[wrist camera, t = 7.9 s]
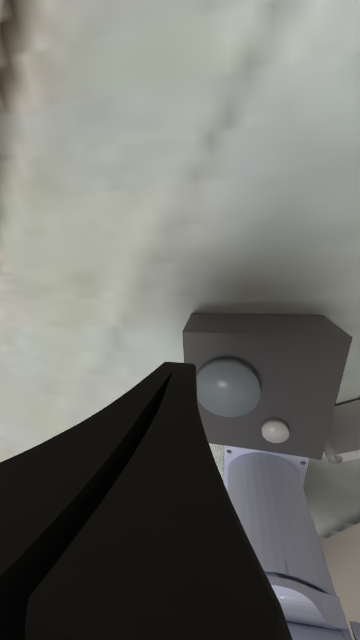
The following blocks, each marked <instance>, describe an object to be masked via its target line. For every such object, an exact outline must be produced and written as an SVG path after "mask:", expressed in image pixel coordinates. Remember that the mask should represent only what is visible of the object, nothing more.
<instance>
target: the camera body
mask: <svg viewBox="0 0 360 640" xmlns="http://www.w3.org/2000/svg"><path fill="white" fill-rule="evenodd" d="M351 340H352V337H351V336H350V335H348V334H347V333H346V332H344V331H343V330H342V329H340V328H339V327H338V326H336V325H335V324H334V323H332V322H331V321H330V320H329V319H327V318H326V317H325V316H323V315H284V314H205V313H192V314H191V316H190V318H189V320H188V322H187V324H186V326H185V328H184V330H183V348H184V363H191V364H194V365H195V366H196V379H197V404H198V409H199V413H200V417H201V421H202V424H203V428H204V431H205V434H206V437H207V440H208V443H212V444H219V445H226V446H232V447H239V448H246V449H253V450H259V451H266V452H273V453H280V454H286V455H293V456H300V457H307V458H313V459H320V460H321V459H322V455H323V451H324V447H325V443H326V439H327V435H328V431H329V427H330V423H331V419H332V415H333V411H334V407H335V403H336V399H337V395H338V392H339V388H340V384H341V380H342V376H343V372H344V368H345V364H346V360H347V356H348V352H349V348H350V344H351Z"/></svg>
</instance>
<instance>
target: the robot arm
mask: <svg viewBox="0 0 360 640" xmlns="http://www.w3.org/2000/svg"><path fill="white" fill-rule="evenodd" d="M308 464H309V458H307V457H300V456H293V455H286V454H280V453H273V452H266V451H259V450H253V449H246V448H239V447H232V446H226V445H224V481H223V480H222V478H221V475H220V473H219V470H218V468H217V465H216V463H215V460H214V457H213V455H212V452H211V449H210V446H209V443H208V440H207V437H206V434H205V431H204V428H203V424H202V421H201V417H200V413H199V409H198V404H197V379H196V366H195V365H194V364H191V363H176V362H164V363H163V364H162V365H161V366H159V367H158V368H157V369H156V370H155V371H153V372H152V373H151V374H150V375H148V376H147V377H146V378H145V379H143V380H142V381H141V382H140V383H138V384H137V385H136V386H135V387H133V388H132V389H131V390H129V391H128V392H127V393H125V394H124V395H122V396H121V397H120V398H118V399H117V400H115V401H114V402H113V403H111V404H110V405H108V406H107V407H105V408H104V409H102V410H101V411H99V412H98V413H96V414H94V415H93V416H91V417H89V418H88V419H86V420H84V421H83V422H81V423H79V424H77V425H76V426H74V427H72V428H70V429H68V430H66V431H64V432H62V433H61V434H59V435H57V436H55V437H53V438H51V439H49V440H47V441H45V442H43V443H42V444H40V445H37V446H35V447H33V448H31V449H29V450H27V451H25V452H23V453H21V454H18V455H16V456H14V457H12V458H10V459H7V460H5V461H3V462H1V463H0V640H352V637H351V634H350V631H349V628H348V625H347V622H346V619H345V615H344V612H343V609H342V606H341V603H340V599H339V597H338V596H337V595H336V592H335V589H334V586H333V583H332V580H331V576H330V573H329V570H328V567H327V564H326V560H325V557H324V554H323V551H322V548H321V544H320V541H319V538H318V534H317V531H316V528H315V525H314V522H313V518H312V515H311V512H310V509H309V505H308V502H307V499H306V496H305V493H304V489H303V486H304V481H305V477H306V472H307V468H308ZM350 625H351V629H352V632H353V635H354V638H355V640H360V623H359V622H353V621H350Z"/></svg>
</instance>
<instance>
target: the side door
mask: <svg viewBox="0 0 360 640" xmlns="http://www.w3.org/2000/svg"><path fill="white" fill-rule="evenodd" d="M324 452H325V454H326V456H327V458H328V460H329V462H331V463H334V464H338V463H341V462H346V461H351V460H356V459H360V399H359V400H356V401H352V402H349V403H345V404H341V405H338V406H335V407H334V411H333V415H332V419H331V423H330V427H329V431H328V435H327V439H326V443H325V447H324Z"/></svg>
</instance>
